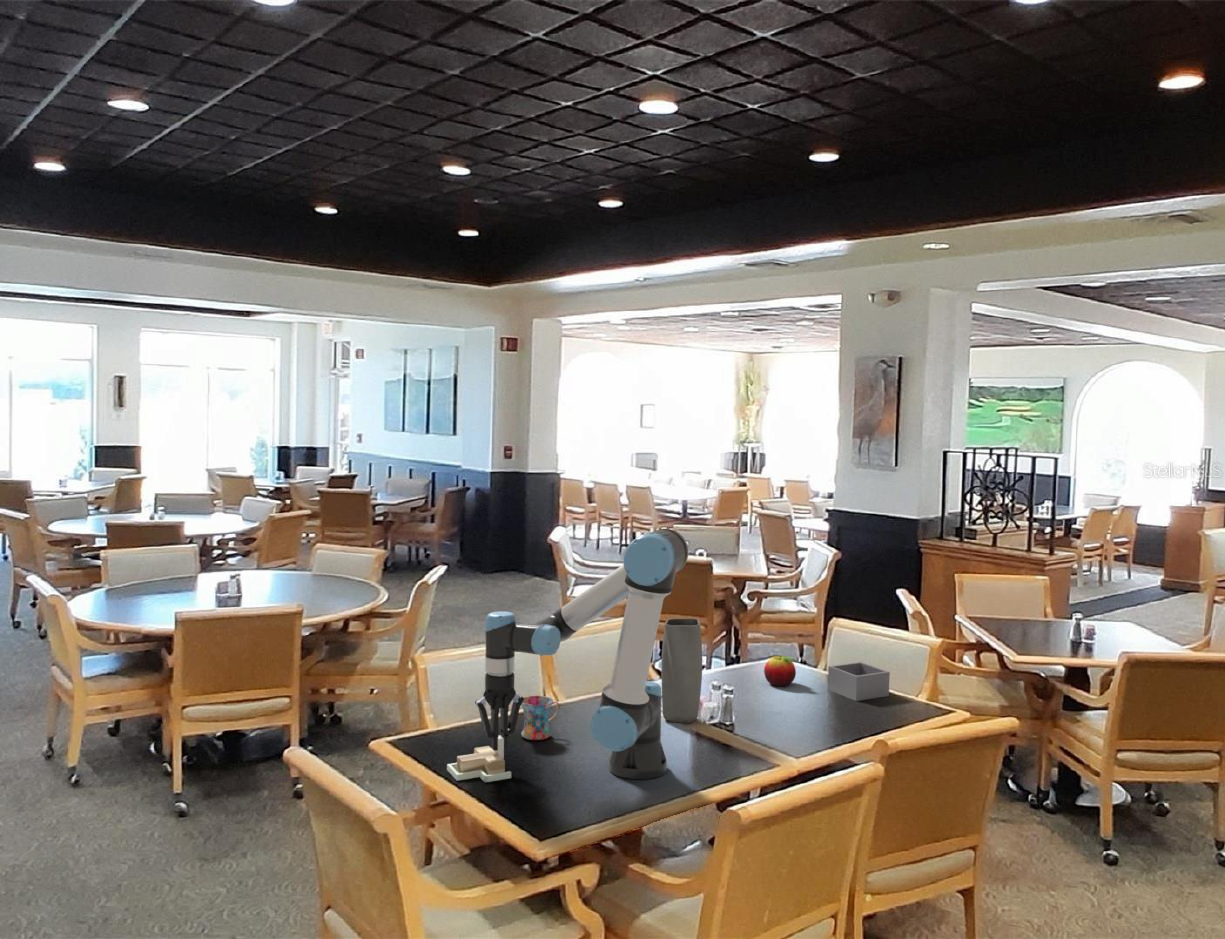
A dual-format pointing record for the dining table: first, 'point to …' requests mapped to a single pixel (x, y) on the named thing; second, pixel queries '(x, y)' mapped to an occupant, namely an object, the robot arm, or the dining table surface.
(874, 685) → the box
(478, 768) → the t block
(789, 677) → the fruit
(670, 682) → the vase
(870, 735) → the dining table surface
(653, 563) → the robot arm
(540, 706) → the mug
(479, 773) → the jig
